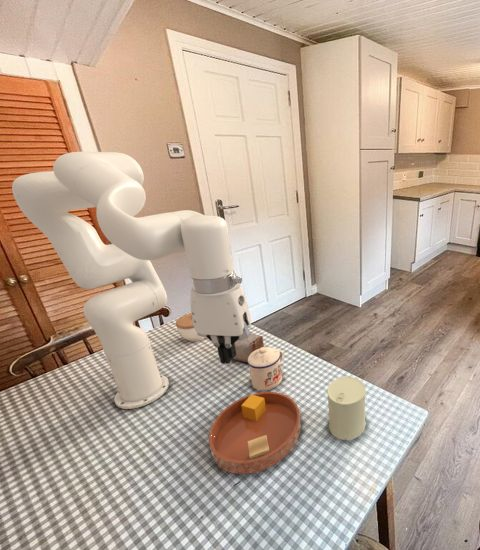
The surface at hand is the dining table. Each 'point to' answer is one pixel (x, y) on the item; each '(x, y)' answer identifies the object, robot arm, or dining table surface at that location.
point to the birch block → (258, 447)
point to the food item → (247, 347)
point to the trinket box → (187, 328)
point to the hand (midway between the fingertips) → (228, 359)
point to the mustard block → (253, 407)
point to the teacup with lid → (265, 368)
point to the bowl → (254, 434)
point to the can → (346, 407)
